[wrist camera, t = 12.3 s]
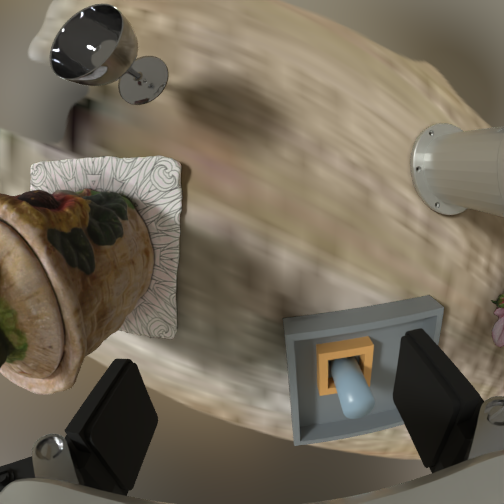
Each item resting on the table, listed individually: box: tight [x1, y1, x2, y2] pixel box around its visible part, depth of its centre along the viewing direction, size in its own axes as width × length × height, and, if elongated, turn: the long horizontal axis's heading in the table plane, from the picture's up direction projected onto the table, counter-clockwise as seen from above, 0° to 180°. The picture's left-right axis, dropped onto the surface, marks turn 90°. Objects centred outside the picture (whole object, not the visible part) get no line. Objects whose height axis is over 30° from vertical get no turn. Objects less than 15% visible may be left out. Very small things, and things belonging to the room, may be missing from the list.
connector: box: [329, 356, 375, 419], centre depth 35 cm, size 4×4×10 cm
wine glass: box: [50, 4, 168, 105], centre depth 25 cm, size 8×8×15 cm
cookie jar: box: [0, 156, 182, 394], centre depth 23 cm, size 25×25×32 cm
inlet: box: [316, 336, 374, 396], centre depth 39 cm, size 8×8×2 cm
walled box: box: [283, 295, 444, 446], centre depth 39 cm, size 22×22×4 cm
